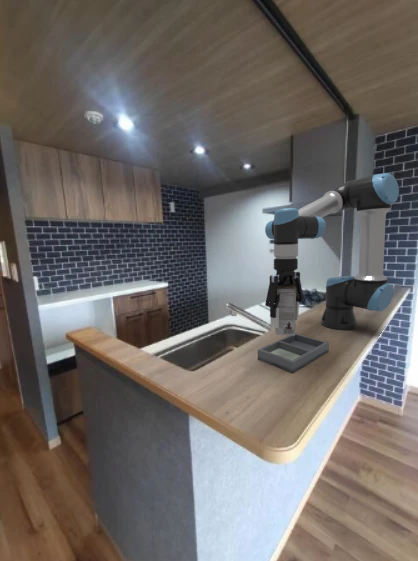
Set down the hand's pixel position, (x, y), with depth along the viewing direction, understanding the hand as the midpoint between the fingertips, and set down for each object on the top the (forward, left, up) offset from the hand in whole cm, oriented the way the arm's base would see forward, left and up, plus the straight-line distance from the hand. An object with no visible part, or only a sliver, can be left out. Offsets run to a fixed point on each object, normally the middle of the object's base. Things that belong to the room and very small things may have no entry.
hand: (284, 323), depth 89 cm
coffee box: (0, 0, -3) cm, 3 cm away
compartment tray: (-6, 0, -13) cm, 14 cm away
